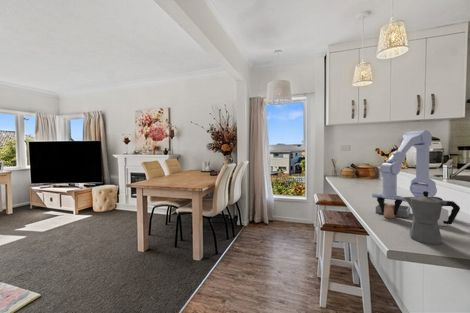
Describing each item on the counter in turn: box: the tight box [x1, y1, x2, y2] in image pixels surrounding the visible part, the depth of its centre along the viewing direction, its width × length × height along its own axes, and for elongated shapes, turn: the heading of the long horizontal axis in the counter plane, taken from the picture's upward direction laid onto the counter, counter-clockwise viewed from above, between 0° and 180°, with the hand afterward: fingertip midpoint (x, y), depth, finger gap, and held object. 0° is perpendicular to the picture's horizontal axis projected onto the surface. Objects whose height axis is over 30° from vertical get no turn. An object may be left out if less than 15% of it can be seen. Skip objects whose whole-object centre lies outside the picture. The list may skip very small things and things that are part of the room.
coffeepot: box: [403, 191, 461, 246], centre depth 78 cm, size 15×9×18 cm, turn 35°
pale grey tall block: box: [428, 196, 449, 227], centre depth 97 cm, size 7×7×12 cm
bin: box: [375, 202, 411, 219], centre depth 113 cm, size 13×12×4 cm
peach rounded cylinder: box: [383, 203, 396, 219], centre depth 106 cm, size 5×5×6 cm
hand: (389, 213), depth 106 cm, fingers closed on peach rounded cylinder, 5 cm apart
